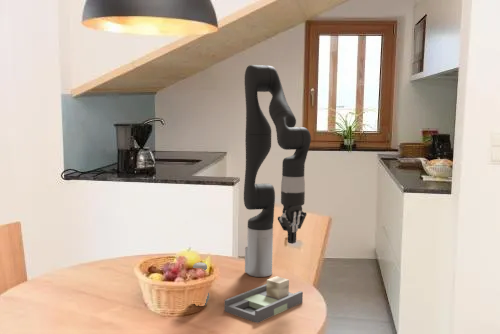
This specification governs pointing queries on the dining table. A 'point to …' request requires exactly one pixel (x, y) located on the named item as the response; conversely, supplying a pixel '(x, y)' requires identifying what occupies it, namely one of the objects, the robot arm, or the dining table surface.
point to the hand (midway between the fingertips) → (291, 242)
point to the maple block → (277, 287)
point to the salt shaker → (204, 266)
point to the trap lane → (260, 304)
